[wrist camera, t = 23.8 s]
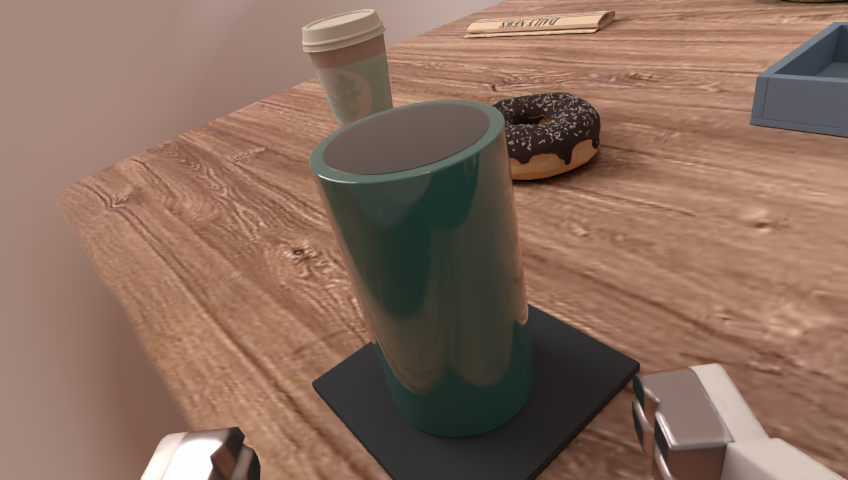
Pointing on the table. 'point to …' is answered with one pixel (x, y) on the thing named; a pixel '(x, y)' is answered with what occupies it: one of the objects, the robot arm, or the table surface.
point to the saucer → (816, 0)
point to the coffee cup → (350, 63)
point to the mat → (499, 448)
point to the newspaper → (541, 24)
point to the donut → (549, 133)
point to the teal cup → (434, 259)
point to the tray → (807, 86)
